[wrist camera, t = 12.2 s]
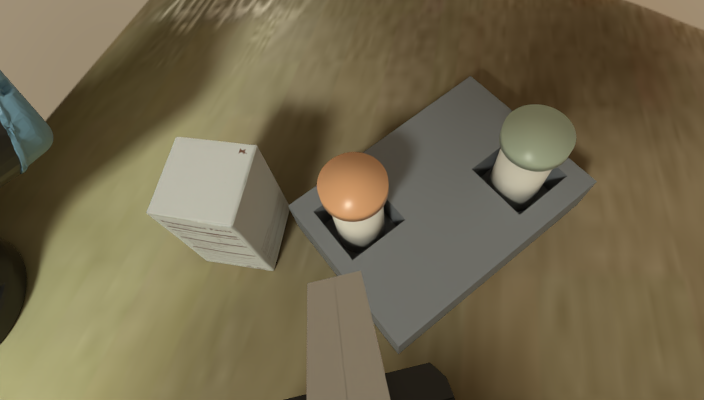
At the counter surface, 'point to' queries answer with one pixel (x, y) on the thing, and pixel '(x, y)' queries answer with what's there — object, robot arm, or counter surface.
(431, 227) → the console
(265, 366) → the counter surface
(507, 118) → the green capped cylinder
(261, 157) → the supplement box
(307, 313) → the robot arm
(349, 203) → the orange capped cylinder
